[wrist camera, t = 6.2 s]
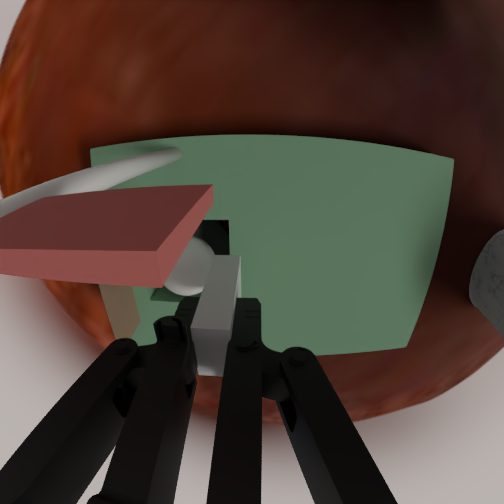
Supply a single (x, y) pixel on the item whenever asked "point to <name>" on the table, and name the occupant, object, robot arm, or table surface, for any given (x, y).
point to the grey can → (490, 282)
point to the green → (245, 232)
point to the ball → (191, 268)
